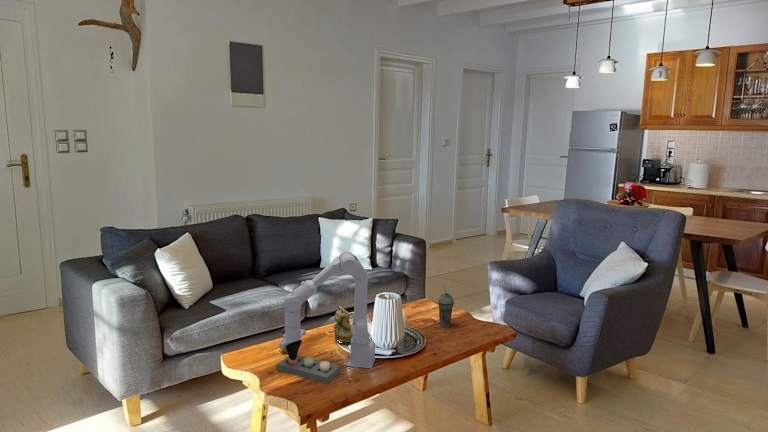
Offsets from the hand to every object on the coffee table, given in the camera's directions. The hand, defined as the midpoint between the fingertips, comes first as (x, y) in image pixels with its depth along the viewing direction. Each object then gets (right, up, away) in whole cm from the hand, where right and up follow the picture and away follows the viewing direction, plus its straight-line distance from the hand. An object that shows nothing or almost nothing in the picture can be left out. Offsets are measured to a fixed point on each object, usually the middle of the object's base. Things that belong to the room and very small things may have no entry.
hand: (292, 359), depth 203 cm
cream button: (+13, -3, -6) cm, 14 cm away
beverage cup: (+63, +3, +44) cm, 76 cm away
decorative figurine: (+18, +1, +26) cm, 31 cm away
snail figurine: (-4, -1, +13) cm, 14 cm away
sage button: (+6, -2, -3) cm, 7 cm away
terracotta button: (0, -3, +1) cm, 3 cm away
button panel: (+6, -4, -2) cm, 8 cm away
